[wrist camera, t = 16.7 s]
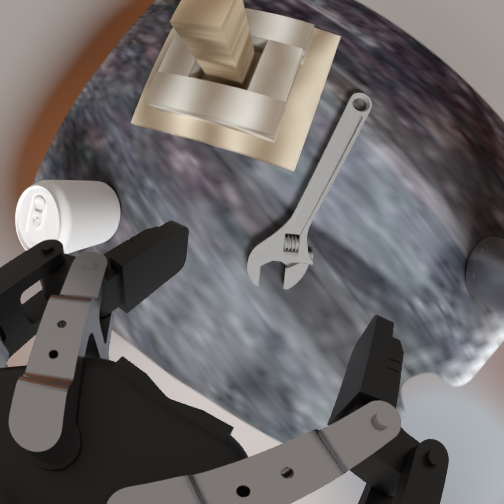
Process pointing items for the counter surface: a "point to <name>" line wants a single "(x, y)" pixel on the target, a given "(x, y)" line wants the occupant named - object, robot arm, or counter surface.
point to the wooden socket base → (244, 92)
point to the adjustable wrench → (309, 202)
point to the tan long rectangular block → (217, 39)
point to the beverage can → (67, 213)
